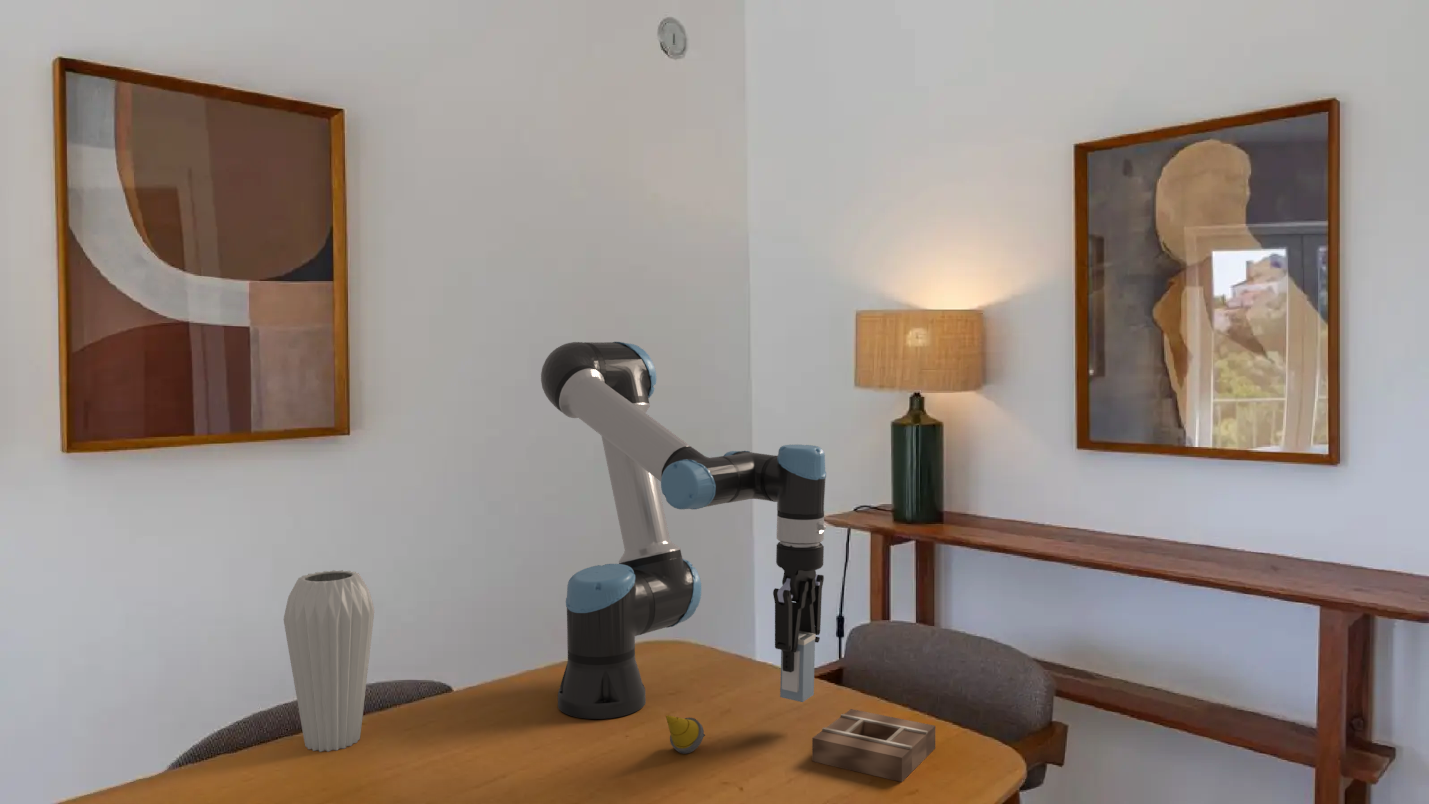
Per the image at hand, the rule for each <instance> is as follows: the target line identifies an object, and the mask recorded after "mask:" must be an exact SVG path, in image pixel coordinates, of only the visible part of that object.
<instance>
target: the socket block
mask: <svg viewBox="0 0 1429 804" xmlns="http://www.w3.org/2000/svg"><path fill="white" fill-rule="evenodd" d="M811 741H812V742H811V743H812V746H811V748H812V749H811V750H812V751H811V752H812V756H811V757H812V758H811V759H812V762H814V763H818V764H819V763H820V764H823V765H826V766H832V767H836V768H839V769H840V768H841V769H844V770H848V771H853V772H858V773H862V774H865V775H870V776H874V777H878V778H882V779H883V778H884V779H886V780H891V781H895V782H899V783H900V782H901V783H902V782H904V781H905V780H906V779H907V777H908V776H909V775H911V774H912V772H914V770H916V768H918V767H919V765H920V764H921V763H922V762H924V760H925V759H927V757H929V755H931V754H932V752H933V751H935V749H936V725H933V724H928V723H924V722H918V721H913V720H907V719H904V718H898V717H893V716H888V715H884V714H879V713H873V712H867V711H862V710H857V709H853V708H851V709H849V710H848V711H846V712H845V713H841V714H840V716H839V717H838V718H837V719H836V720H835V721H833V722H832V723H831V724H829V725H828V726H826V727H824V726H823V727H822V728H821V731H820V732H819V733H817V734H815V735H814V736H813V737H812V739H811Z"/></svg>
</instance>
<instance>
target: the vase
mask: <svg viewBox="0 0 1429 804" xmlns="http://www.w3.org/2000/svg"><path fill="white" fill-rule="evenodd" d="M287 597H288V598H287V602H286V606H285V609H284V615H283V624H284V632H285V636H286V642H287V648H288V653H289V659H290V665H291V672H292V677H293V684H294V689H295V696H296V700H297V701H296V702H297V707H298V713H299V717H300V718H299V720H300V725H301V730H302V734H303V735H302V736H303V741H304V746H305V748H307V750H312V752H315V751H318V752H319V753H321V752H325V751H326V752H331V751H339V749H346V748H347V747H353V744H356V743H357V744H358V741H360V740H361V733H362V725H363V724H362V723H363V717H364V706H365V698H366V697H365V696H366V691H367V690H366V688H367V681H368V672H369V671H368V670H369V662H370V653H371V646H372V637H373V636H372V635H373V626H374V618H375V606H374V603H373V599H372V596H371V592H370V589H369V587H368V586H367V584H366V583H365V580H364V579H363V578H362V576H361V575H360V574H359V572H357V571H351V570H343V569H342V570H334V569H333V570H330V571H329V570H328V571H327V570H324V571H321V572H320V571H317V572H314V573H308V574H305V575H302V576H301V577H298V578H297V580H296V582H295V583H294V586H293V588H292V589H291V591H290V592H289V595H288V596H287Z"/></svg>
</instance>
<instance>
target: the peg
mask: <svg viewBox="0 0 1429 804" xmlns="http://www.w3.org/2000/svg"><path fill="white" fill-rule="evenodd" d="M816 636H817V635H816V634H813V633H808V632H802V631H799V636H798V645H797V650H798V651H800V670H799V691H798V692H793V691H788V690H784V689H782V656H783V651H782V650H780V686H779V687H780V689H779V690H780V693H779V695H780V696H779V697H780V698H783V699H787V700H792V701H795V702H800V703H803V702H805V701H806V700H808V699H810V698H811V697H813V696H814V695H815V693H814V692H815V690H814V689H815V656H816V655H815V651H816V642H815V637H816Z"/></svg>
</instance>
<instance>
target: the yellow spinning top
mask: <svg viewBox="0 0 1429 804" xmlns="http://www.w3.org/2000/svg"><path fill="white" fill-rule="evenodd" d="M665 718H666V721H667V726H668V729H669V730H668V731H669V733H670V736H669V742H670V745H671V746H672V748H674V750H675V751H677V752H678V753H680V754H684V755H685V754H690V753H692V752H695V750H697V749H698V748H699V746H700V745H701V743H702V741H703V739H704V737H705V736H706V734H705V733H704V732H705V731H704V727H703V725H702V724H701V722H700V721H699V720H697V719H696V718H693V717H685V718H684V717H678V716H675V715H674V716H673V715H665Z"/></svg>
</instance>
